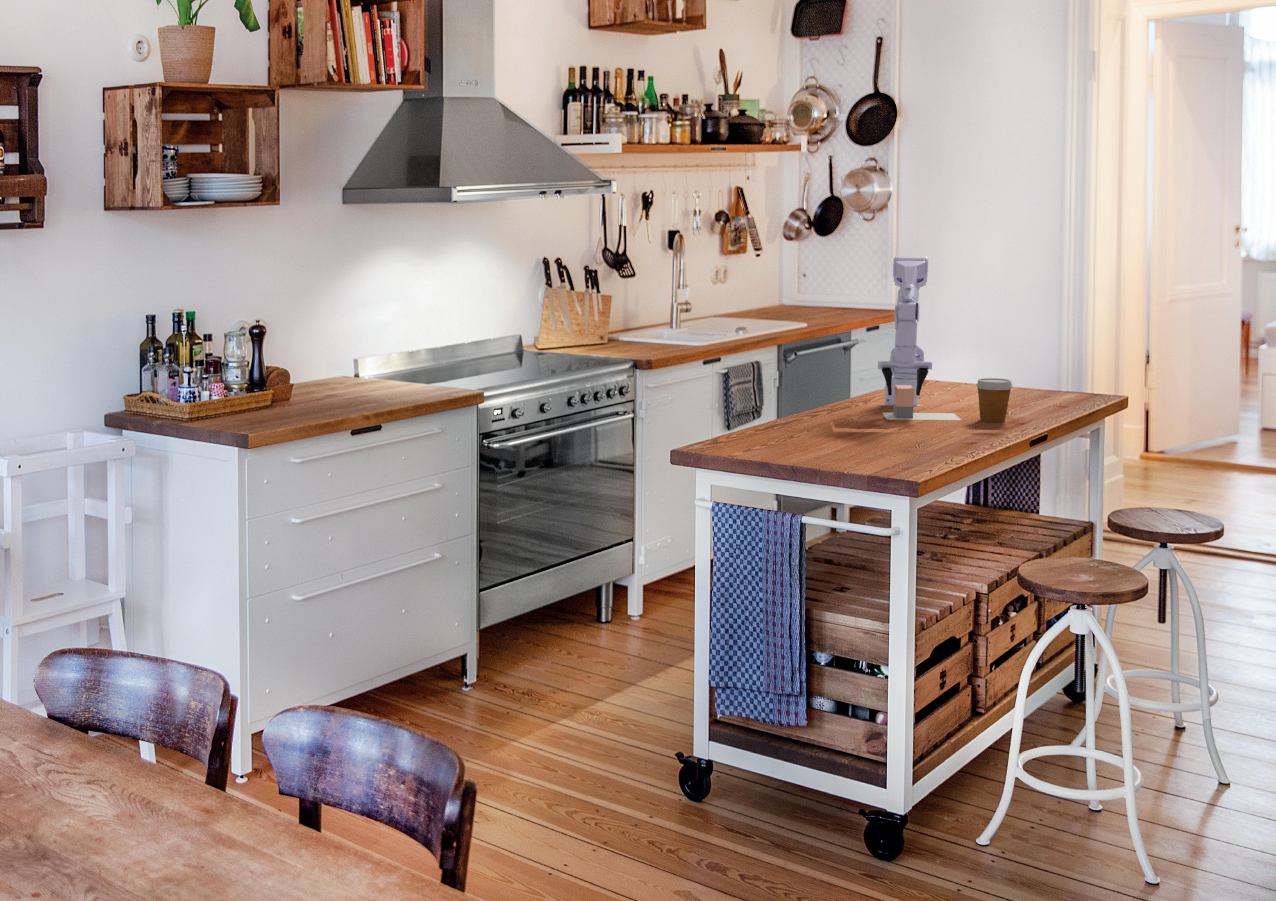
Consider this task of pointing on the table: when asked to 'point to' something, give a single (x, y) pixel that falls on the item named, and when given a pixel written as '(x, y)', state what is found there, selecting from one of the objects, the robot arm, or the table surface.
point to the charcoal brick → (903, 412)
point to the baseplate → (925, 416)
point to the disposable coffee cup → (993, 398)
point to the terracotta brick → (903, 395)
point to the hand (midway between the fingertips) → (903, 395)
